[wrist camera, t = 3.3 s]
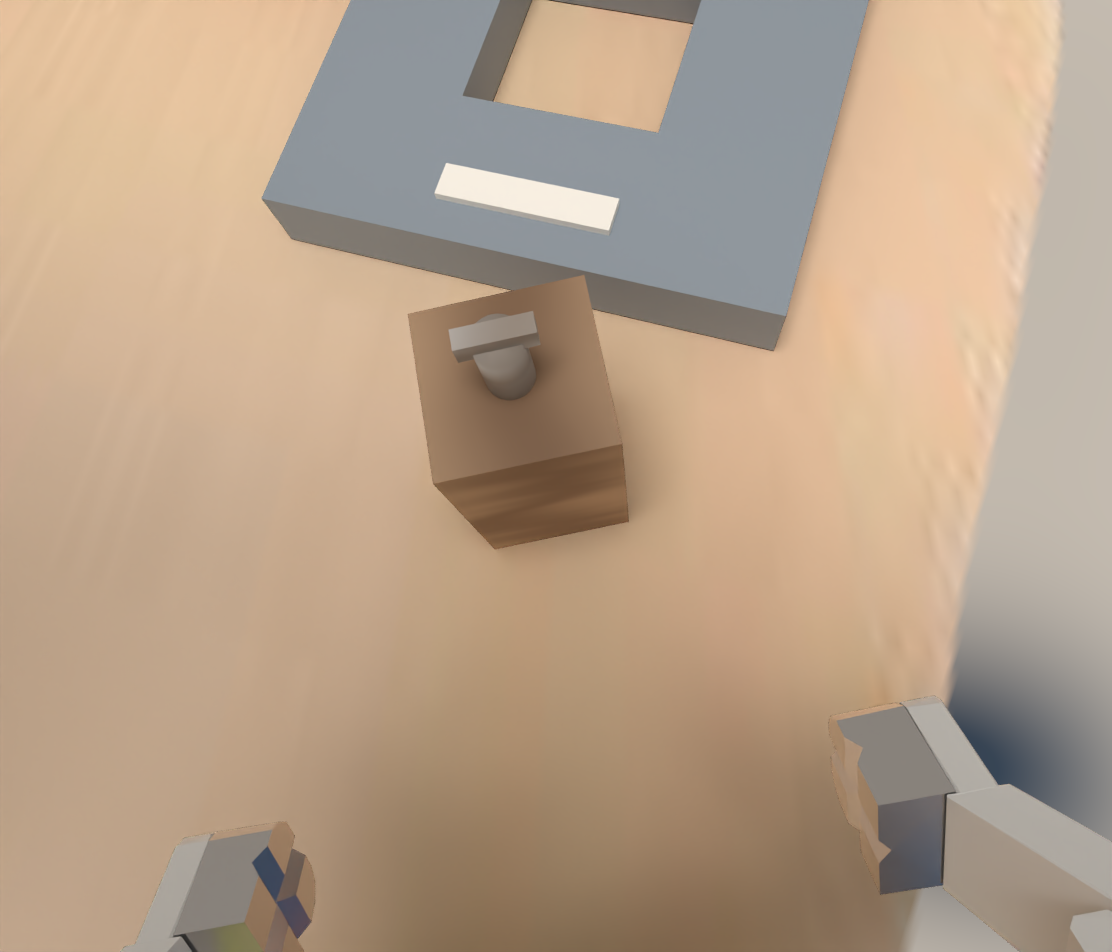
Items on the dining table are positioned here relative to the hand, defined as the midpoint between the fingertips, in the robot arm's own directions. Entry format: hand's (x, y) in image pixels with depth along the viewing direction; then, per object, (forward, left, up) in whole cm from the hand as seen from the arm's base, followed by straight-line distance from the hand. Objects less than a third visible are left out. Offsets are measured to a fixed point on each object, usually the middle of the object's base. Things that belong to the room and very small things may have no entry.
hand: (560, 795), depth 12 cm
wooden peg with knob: (-4, +8, -13) cm, 16 cm away
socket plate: (-7, +23, -13) cm, 27 cm away
